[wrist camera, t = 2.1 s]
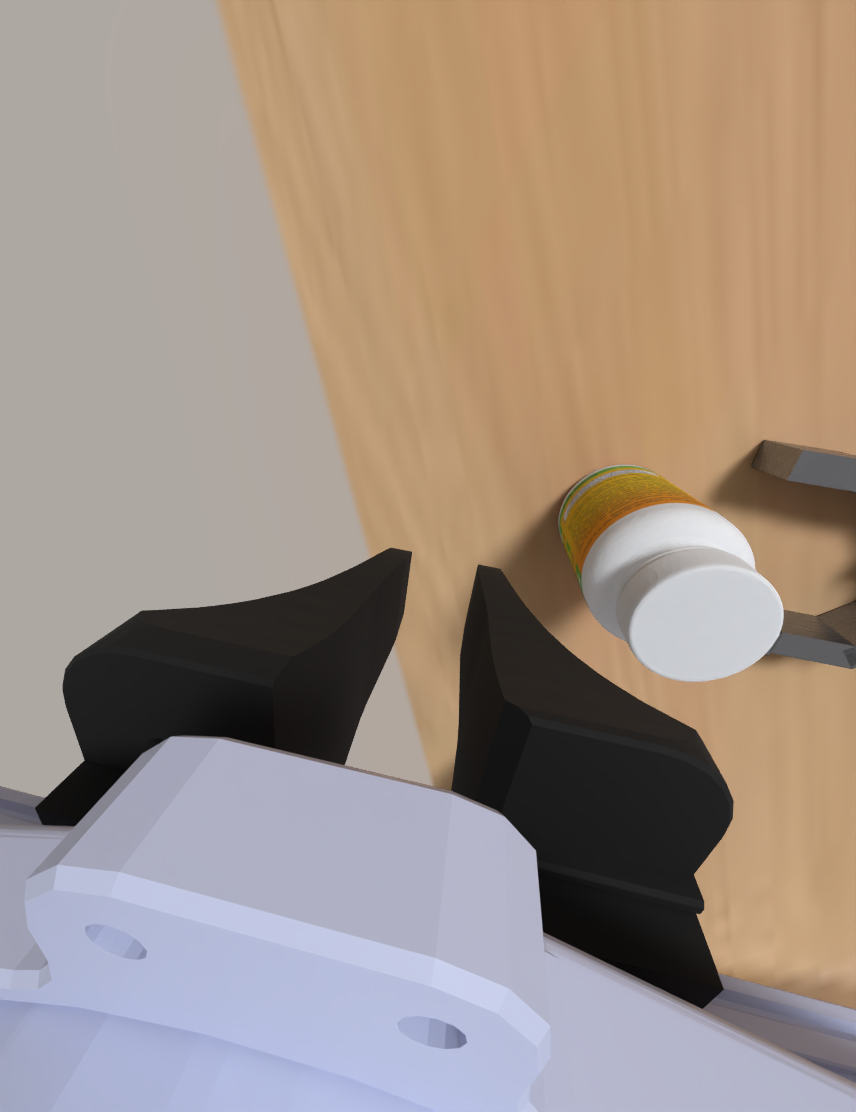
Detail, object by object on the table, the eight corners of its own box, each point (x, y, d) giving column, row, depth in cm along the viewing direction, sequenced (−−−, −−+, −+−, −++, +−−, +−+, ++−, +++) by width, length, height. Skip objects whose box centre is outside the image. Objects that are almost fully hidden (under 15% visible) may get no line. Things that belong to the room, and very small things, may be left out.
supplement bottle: (534, 521, 21) (562, 630, 12) (618, 438, 19) (727, 498, 10) (608, 583, 22) (684, 728, 13) (697, 511, 19) (863, 627, 11)
